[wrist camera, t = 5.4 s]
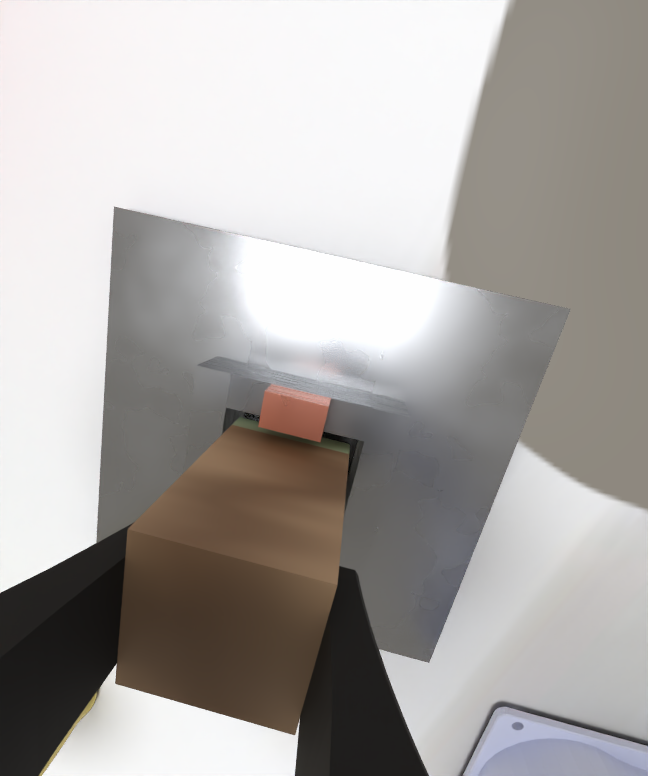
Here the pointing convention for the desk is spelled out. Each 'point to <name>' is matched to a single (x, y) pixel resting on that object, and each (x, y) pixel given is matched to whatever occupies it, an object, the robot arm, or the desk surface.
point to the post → (236, 576)
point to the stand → (323, 394)
